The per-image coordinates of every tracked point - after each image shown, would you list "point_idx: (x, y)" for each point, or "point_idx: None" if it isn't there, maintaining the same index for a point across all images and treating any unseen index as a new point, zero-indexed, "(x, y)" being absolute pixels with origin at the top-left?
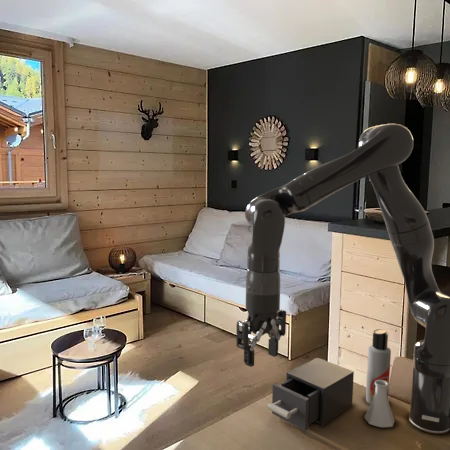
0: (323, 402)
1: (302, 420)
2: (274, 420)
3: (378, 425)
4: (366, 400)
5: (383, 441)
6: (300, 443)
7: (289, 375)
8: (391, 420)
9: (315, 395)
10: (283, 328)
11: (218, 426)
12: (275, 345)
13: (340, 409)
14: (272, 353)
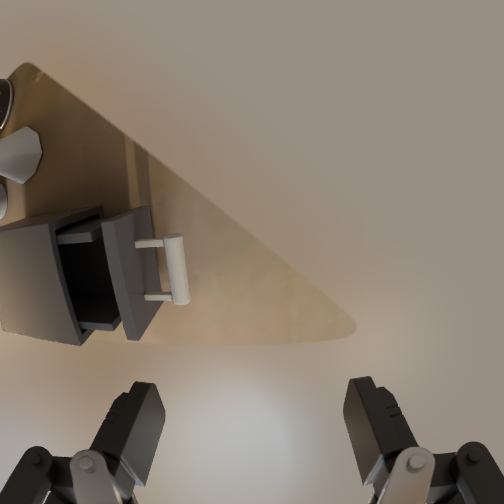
0: (70, 214)
1: (142, 218)
2: None
3: (37, 138)
4: (5, 211)
5: (63, 102)
6: (183, 189)
7: (80, 335)
8: (19, 130)
9: (74, 232)
10: (25, 488)
11: (282, 340)
12: (130, 435)
13: (47, 214)
14: (155, 405)
